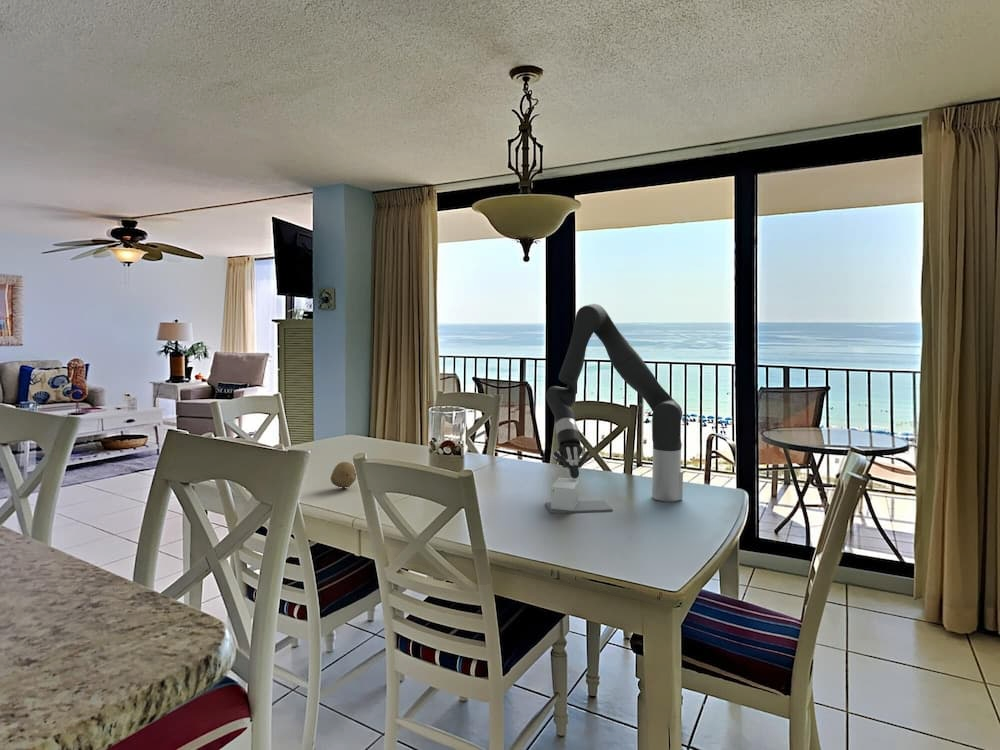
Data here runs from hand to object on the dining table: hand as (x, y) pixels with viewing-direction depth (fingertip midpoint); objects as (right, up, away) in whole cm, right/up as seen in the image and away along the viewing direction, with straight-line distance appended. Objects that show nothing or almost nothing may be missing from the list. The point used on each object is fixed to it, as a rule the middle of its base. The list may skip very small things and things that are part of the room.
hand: (575, 477), depth 199 cm
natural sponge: (-81, -8, +20) cm, 84 cm away
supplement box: (-2, -4, +3) cm, 6 cm away
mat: (0, -9, -4) cm, 10 cm away
